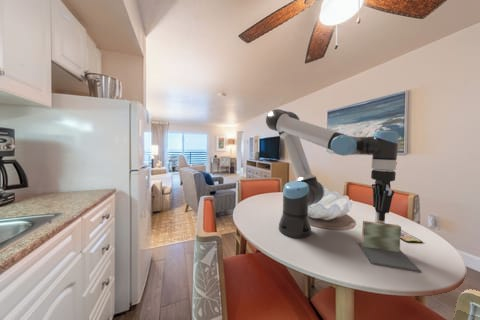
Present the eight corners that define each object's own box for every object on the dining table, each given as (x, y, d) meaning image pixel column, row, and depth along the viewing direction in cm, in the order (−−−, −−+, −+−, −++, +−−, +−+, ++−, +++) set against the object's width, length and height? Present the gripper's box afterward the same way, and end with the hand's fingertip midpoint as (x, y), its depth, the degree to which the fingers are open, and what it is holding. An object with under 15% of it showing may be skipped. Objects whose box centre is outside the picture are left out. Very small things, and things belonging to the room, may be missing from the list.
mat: (371, 263, 62) (371, 262, 62) (357, 243, 76) (357, 241, 76) (421, 272, 58) (421, 270, 58) (397, 249, 72) (397, 247, 72)
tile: (363, 246, 72) (364, 222, 71) (361, 244, 74) (363, 220, 73) (399, 252, 69) (401, 227, 68) (396, 249, 70) (398, 224, 70)
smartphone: (395, 226, 91) (423, 241, 76) (395, 228, 91) (423, 244, 76) (380, 226, 92) (406, 241, 77) (380, 227, 92) (406, 243, 77)
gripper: (404, 172, 63) (399, 236, 65) (386, 168, 76) (382, 222, 78) (379, 171, 66) (375, 233, 67) (366, 167, 78) (362, 219, 80)
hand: (379, 227), depth 72 cm, fingers closed
